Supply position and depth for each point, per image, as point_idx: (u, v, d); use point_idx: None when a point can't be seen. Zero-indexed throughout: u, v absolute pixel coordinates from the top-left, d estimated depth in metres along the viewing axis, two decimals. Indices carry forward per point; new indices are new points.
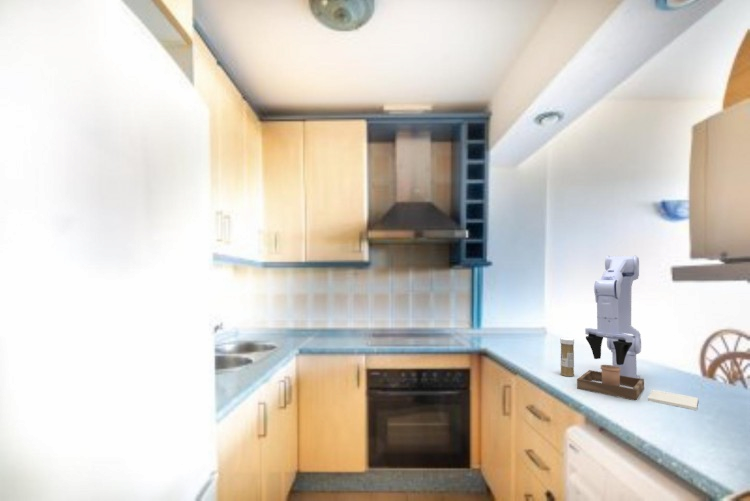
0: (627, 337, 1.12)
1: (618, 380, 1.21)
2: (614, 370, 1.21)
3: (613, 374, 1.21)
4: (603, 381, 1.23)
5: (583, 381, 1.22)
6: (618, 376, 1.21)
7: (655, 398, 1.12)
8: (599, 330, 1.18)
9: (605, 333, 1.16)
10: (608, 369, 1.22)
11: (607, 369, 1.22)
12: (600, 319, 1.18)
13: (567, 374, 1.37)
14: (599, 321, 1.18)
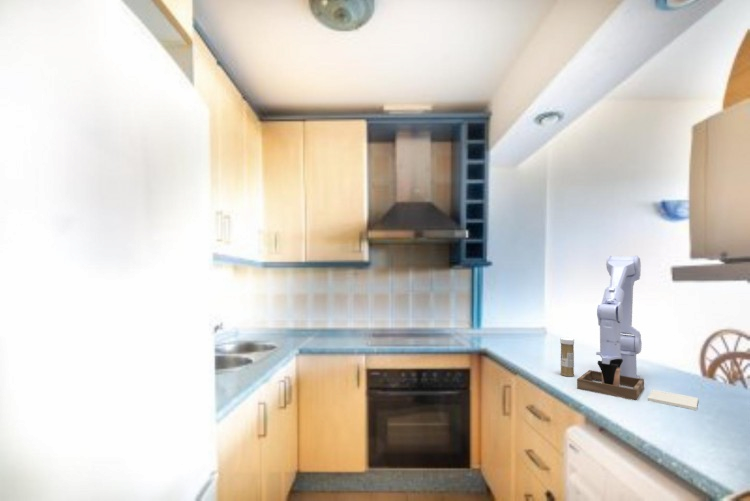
0: None
1: (618, 380, 1.21)
2: None
3: None
4: (603, 381, 1.23)
5: (583, 381, 1.22)
6: (618, 376, 1.21)
7: (655, 398, 1.12)
8: None
9: (599, 353, 1.25)
10: None
11: None
12: None
13: (567, 374, 1.37)
14: None
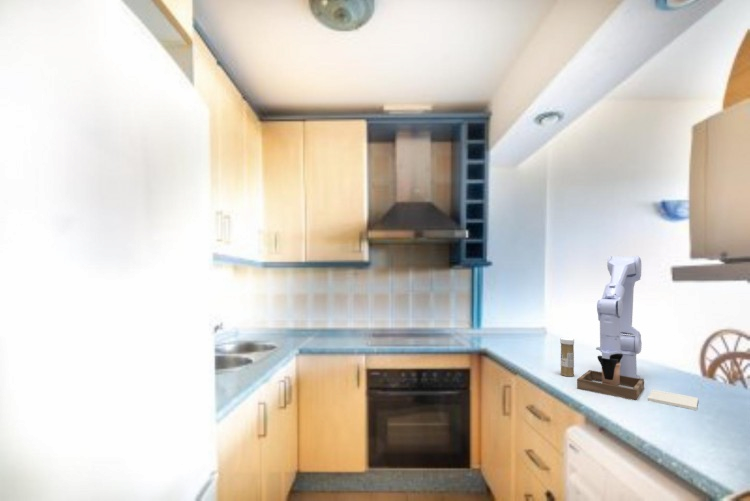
0: None
1: (618, 375, 1.21)
2: None
3: None
4: (603, 376, 1.23)
5: (583, 381, 1.22)
6: (618, 371, 1.21)
7: (655, 398, 1.12)
8: None
9: (599, 348, 1.25)
10: None
11: None
12: None
13: (567, 374, 1.37)
14: None
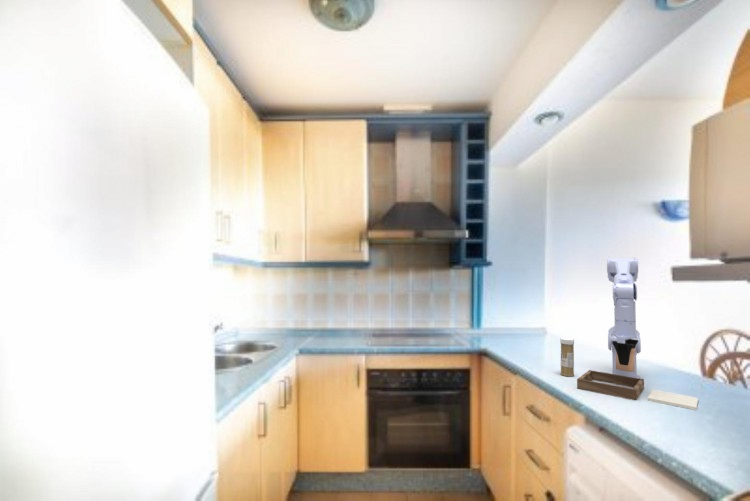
0: None
1: (633, 361, 1.19)
2: None
3: None
4: (617, 362, 1.21)
5: (583, 381, 1.22)
6: (633, 356, 1.19)
7: (655, 398, 1.12)
8: None
9: (614, 334, 1.22)
10: None
11: None
12: None
13: (567, 374, 1.37)
14: None
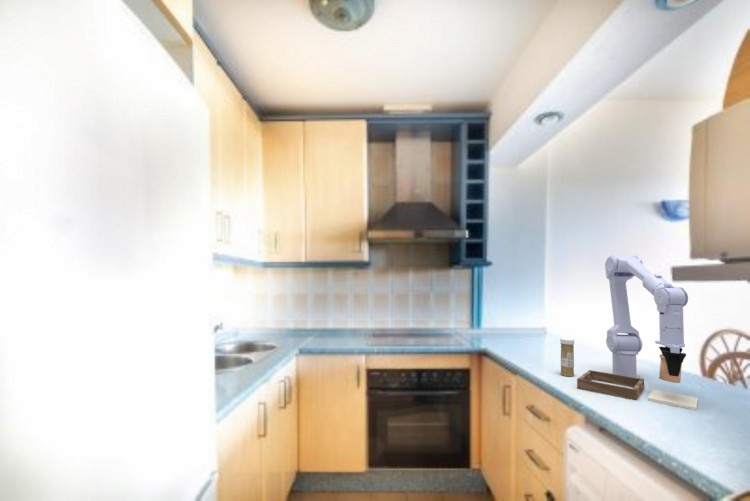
0: (670, 347, 1.08)
1: (680, 371, 1.11)
2: None
3: None
4: (663, 372, 1.12)
5: (583, 381, 1.22)
6: (681, 367, 1.11)
7: (655, 398, 1.12)
8: None
9: (660, 342, 1.14)
10: None
11: None
12: None
13: (567, 374, 1.37)
14: None
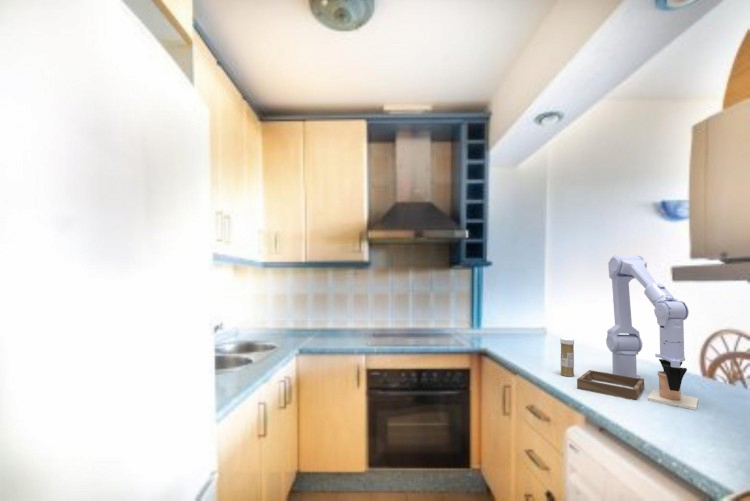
0: (670, 361, 1.08)
1: None
2: None
3: None
4: (663, 389, 1.12)
5: (583, 381, 1.22)
6: None
7: (655, 398, 1.12)
8: None
9: (661, 356, 1.14)
10: None
11: None
12: None
13: (567, 374, 1.37)
14: None
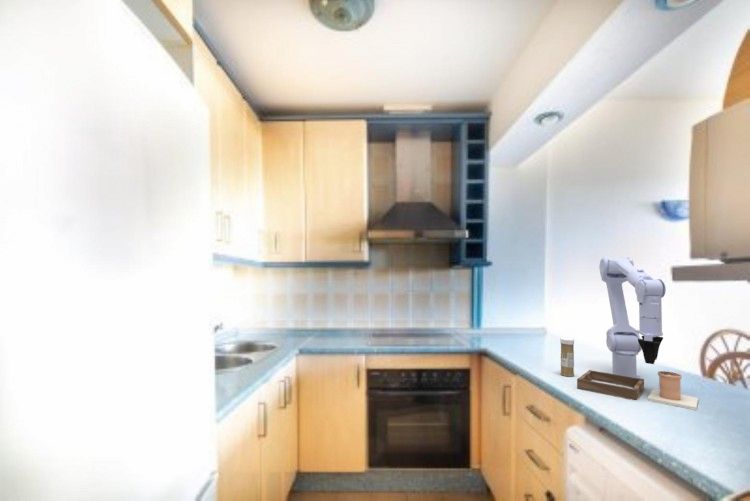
0: (644, 335, 1.14)
1: (680, 388, 1.11)
2: (677, 377, 1.10)
3: (675, 382, 1.11)
4: (663, 390, 1.12)
5: (583, 381, 1.22)
6: (679, 384, 1.11)
7: (655, 398, 1.12)
8: None
9: (639, 331, 1.19)
10: (670, 376, 1.11)
11: (669, 376, 1.11)
12: None
13: (567, 374, 1.37)
14: None
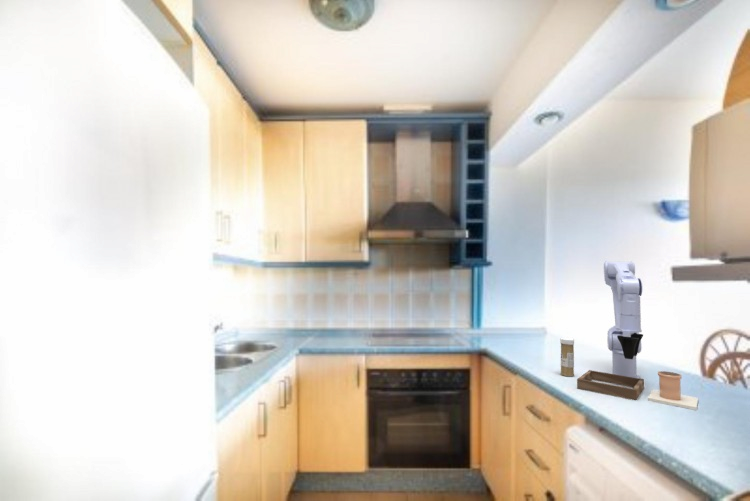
0: None
1: (680, 388, 1.11)
2: (677, 377, 1.10)
3: (675, 382, 1.11)
4: (663, 390, 1.12)
5: (583, 381, 1.22)
6: (679, 384, 1.11)
7: (655, 398, 1.12)
8: None
9: (619, 328, 1.24)
10: (670, 376, 1.11)
11: (669, 376, 1.11)
12: None
13: (567, 374, 1.37)
14: None
